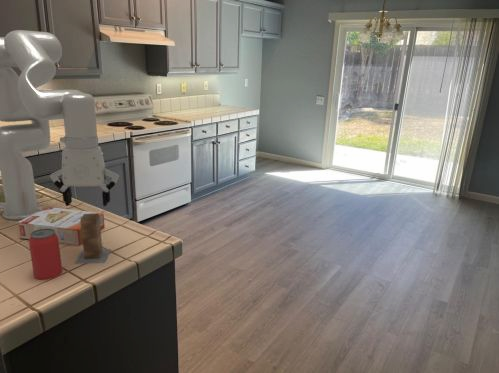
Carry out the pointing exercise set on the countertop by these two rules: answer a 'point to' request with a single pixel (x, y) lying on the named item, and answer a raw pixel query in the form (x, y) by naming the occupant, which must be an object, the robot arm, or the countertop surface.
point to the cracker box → (57, 224)
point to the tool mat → (100, 260)
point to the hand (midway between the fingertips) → (87, 204)
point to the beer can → (45, 254)
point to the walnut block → (91, 236)
